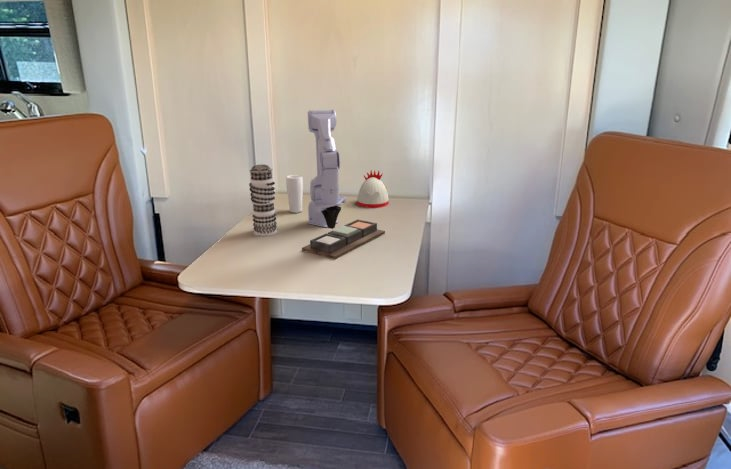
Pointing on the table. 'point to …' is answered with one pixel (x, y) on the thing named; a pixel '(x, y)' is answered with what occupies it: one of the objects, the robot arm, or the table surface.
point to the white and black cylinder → (263, 200)
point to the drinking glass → (295, 192)
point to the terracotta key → (360, 225)
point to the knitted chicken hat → (373, 192)
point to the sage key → (345, 230)
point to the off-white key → (328, 240)
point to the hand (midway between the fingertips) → (331, 227)
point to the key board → (344, 241)
